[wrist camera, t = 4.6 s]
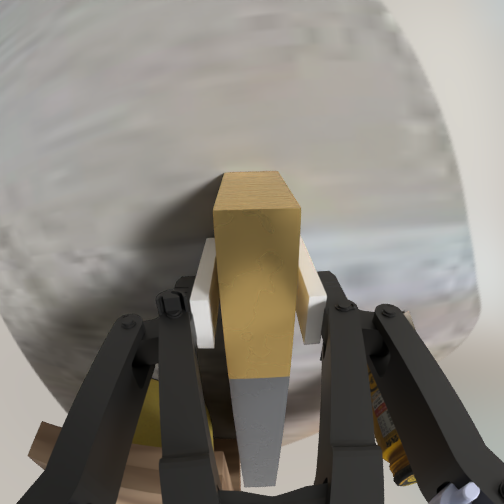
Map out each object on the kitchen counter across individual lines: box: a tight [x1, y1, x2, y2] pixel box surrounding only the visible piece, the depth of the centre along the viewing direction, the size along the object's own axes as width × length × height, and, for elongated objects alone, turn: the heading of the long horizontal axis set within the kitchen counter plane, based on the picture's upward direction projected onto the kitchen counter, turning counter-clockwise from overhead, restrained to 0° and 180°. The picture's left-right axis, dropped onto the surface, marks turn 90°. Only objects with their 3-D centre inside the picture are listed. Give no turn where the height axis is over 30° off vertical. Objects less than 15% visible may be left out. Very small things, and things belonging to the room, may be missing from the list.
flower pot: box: [132, 379, 214, 451], centre depth 21 cm, size 9×9×9 cm
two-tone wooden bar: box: [213, 171, 301, 487], centre depth 19 cm, size 27×3×7 cm, turn 1°
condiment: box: [367, 311, 417, 486], centre depth 18 cm, size 7×8×12 cm
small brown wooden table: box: [28, 421, 241, 504], centre depth 20 cm, size 18×12×12 cm, turn 1°
